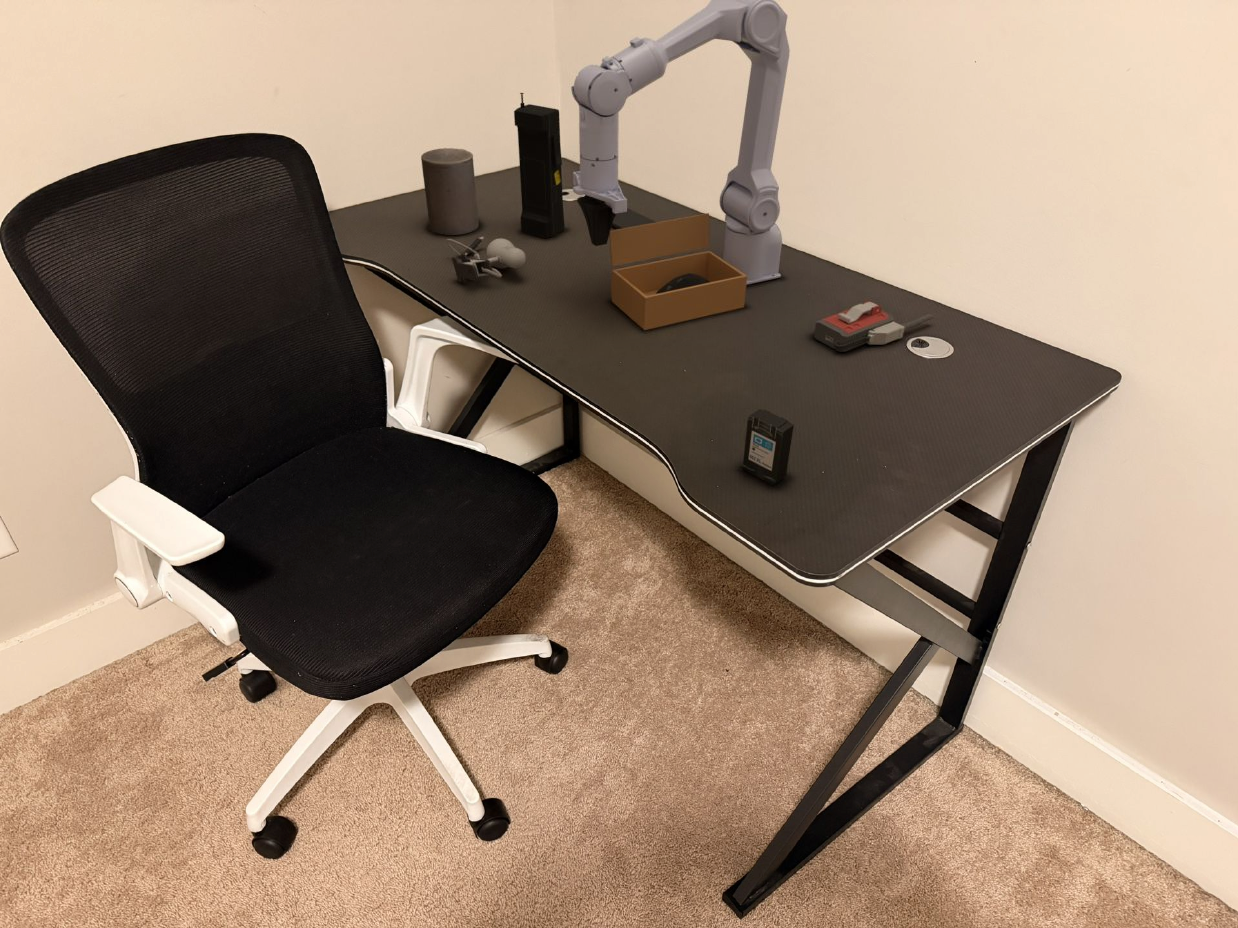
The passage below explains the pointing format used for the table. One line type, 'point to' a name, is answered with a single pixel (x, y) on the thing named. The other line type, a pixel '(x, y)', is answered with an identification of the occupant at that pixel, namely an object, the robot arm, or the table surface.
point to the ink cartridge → (767, 446)
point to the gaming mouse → (683, 282)
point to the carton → (655, 310)
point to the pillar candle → (450, 191)
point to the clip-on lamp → (497, 253)
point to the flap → (659, 239)
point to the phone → (630, 220)
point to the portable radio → (540, 169)
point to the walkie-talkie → (861, 327)
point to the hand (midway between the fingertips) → (599, 243)
